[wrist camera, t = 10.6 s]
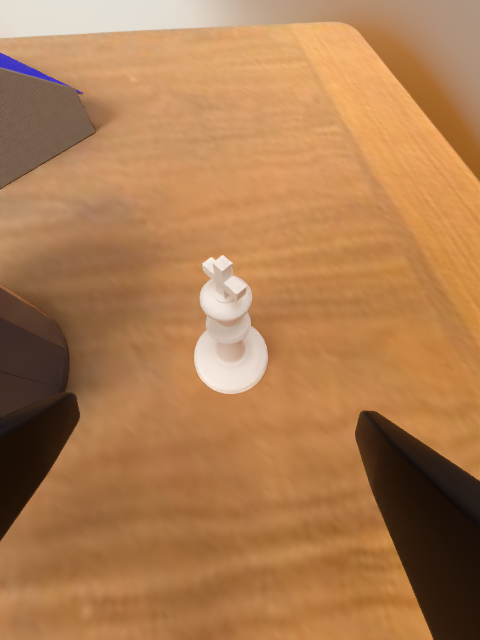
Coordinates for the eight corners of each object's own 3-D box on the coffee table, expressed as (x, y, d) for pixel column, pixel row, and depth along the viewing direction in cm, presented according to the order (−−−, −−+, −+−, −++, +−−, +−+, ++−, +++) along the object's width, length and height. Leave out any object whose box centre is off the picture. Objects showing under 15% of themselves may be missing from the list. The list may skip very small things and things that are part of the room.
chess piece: (232, 310, 18) (225, 185, 9) (282, 356, 17) (335, 263, 8) (179, 356, 17) (108, 262, 8) (230, 411, 15) (218, 377, 6)
